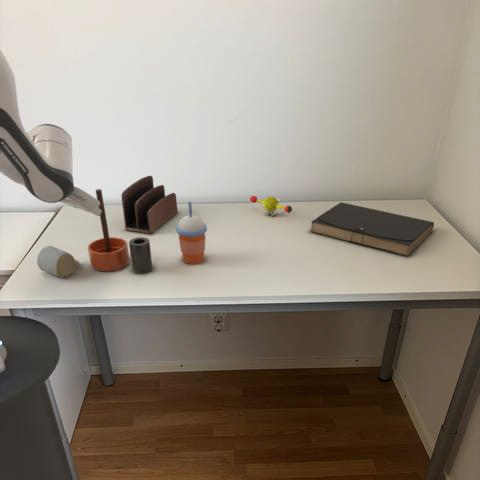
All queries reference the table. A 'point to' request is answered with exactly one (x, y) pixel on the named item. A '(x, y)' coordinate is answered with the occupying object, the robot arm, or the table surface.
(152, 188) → the letter holder
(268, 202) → the toy figure
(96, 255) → the bowl
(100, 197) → the stick
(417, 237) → the black book
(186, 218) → the cup with straw
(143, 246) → the tube
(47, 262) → the ceramic mug
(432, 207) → the table surface
